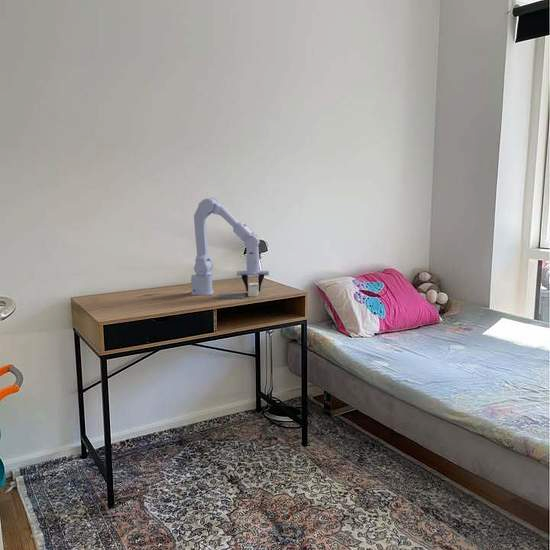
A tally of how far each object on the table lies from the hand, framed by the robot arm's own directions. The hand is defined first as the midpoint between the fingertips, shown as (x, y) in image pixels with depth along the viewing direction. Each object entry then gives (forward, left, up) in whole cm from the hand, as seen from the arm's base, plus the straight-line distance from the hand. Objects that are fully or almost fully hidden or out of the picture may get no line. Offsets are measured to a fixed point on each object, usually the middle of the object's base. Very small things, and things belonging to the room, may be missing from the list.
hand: (253, 291), depth 249 cm
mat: (-9, -4, -1) cm, 10 cm away
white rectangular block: (0, 0, -2) cm, 2 cm away
